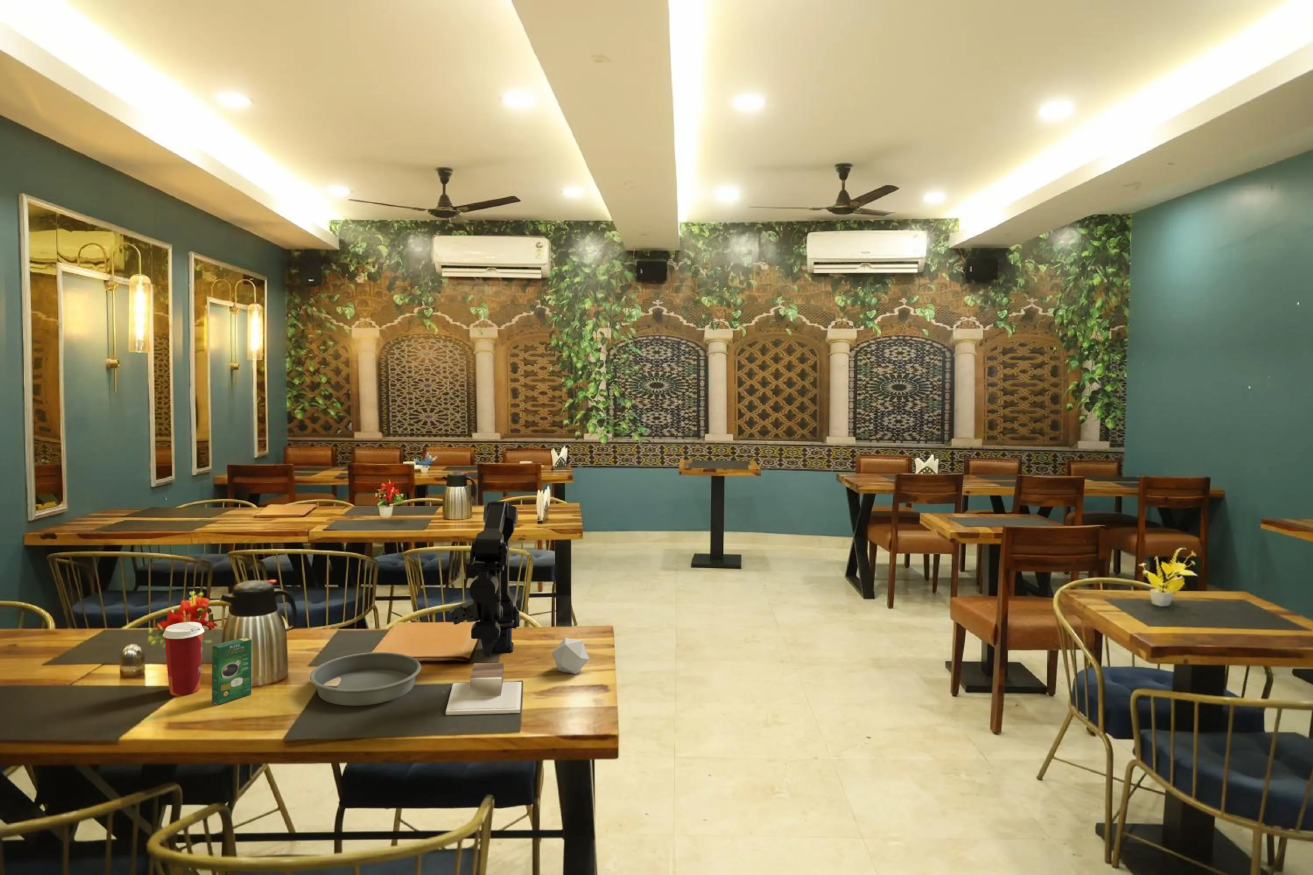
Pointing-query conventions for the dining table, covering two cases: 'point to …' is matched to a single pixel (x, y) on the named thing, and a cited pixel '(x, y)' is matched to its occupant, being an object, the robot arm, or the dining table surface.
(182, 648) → the coffee cup
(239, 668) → the coffee box
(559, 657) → the die
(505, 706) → the shallow cream tray
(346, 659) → the cake pan
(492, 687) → the walnut block
